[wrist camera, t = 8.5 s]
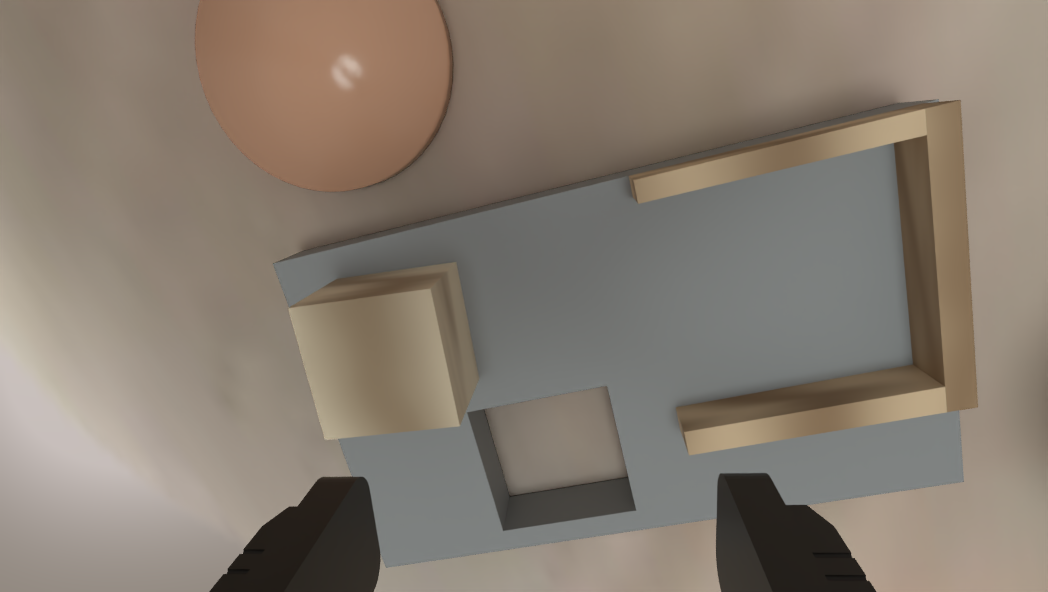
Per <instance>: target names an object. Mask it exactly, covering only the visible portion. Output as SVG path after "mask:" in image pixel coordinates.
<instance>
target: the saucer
mask: <svg viewBox="0 0 1048 592" xmlns="http://www.w3.org/2000/svg"><path fill="white" fill-rule="evenodd" d="M195 50H196V61H197V66H198V71H199V77H200V80H201V84H202V87H203V90H204V93H205V96H206V98H207V101H208V103H209V105H210V107H211V110H212V112H213V114H214V115H215V117H216V119H217V121H218V122H219V124H220V126H221V127H222V129H223V130H224V132H225V133H226V134H227V136H228V137H229V138H230V140H231V141H232V142H233V143H234V144H235V145H236V147H237V148H238V149H239V150H240V151H241V152H242V153H243V154H244V155H245V156H246V157H248V158H249V159H250V160H251V161H252V162H253V163H254V164H256V165H257V166H258V167H260V168H261V169H263V170H264V171H266V172H267V173H269V174H271V175H272V176H274V177H276V178H278V179H280V180H282V181H284V182H287V183H290V184H292V185H295V186H298V187H301V188H306V189H310V190H315V191H326V192H336V191H348V190H353V189H359V188H363V187H367V186H371V185H374V184H377V183H379V182H382V181H385V180H387V179H389V178H391V177H393V176H395V175H397V174H398V173H400V172H401V171H403V170H404V169H405V168H407V167H408V166H410V165H411V164H412V163H413V162H414V161H415V160H416V159H417V158H418V157H419V156H420V155H421V154H422V153H423V152H424V150H425V149H426V148H427V147H428V145H429V144H430V143H431V141H432V140H433V138H434V136H435V135H436V133H437V131H438V130H439V127H440V125H441V123H442V121H443V118H444V116H445V113H446V110H447V107H448V103H449V100H450V94H451V88H452V82H453V56H452V45H451V41H450V36H449V31H448V27H447V24H446V21H445V18H444V15H443V12H442V10H441V8H440V5H439V3H438V1H437V0H200V3H199V6H198V12H197V19H196V27H195Z"/></svg>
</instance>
